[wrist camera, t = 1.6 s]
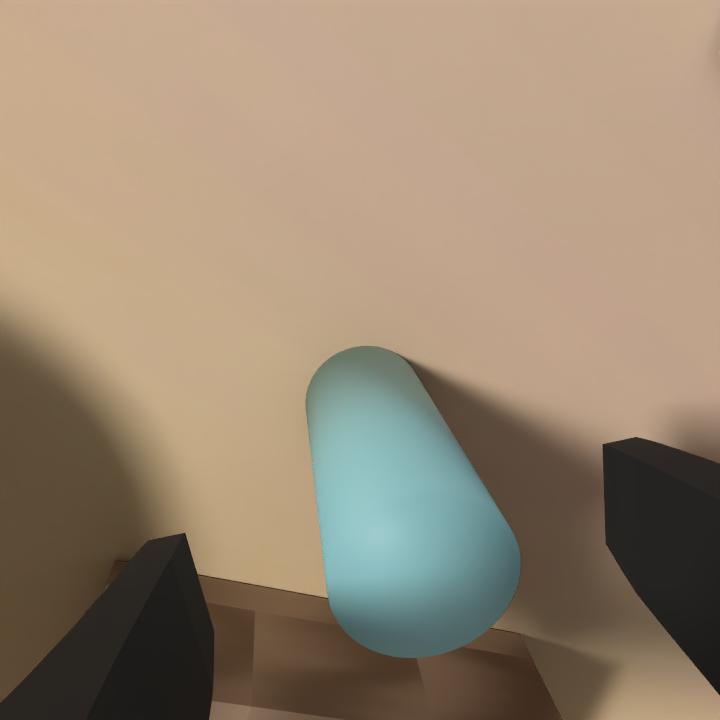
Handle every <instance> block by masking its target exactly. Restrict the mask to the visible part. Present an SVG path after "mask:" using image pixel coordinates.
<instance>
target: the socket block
mask: <svg viewBox="0 0 720 720" xmlns="http://www.w3.org/2000/svg"><path fill="white" fill-rule="evenodd" d="M128 563H129V562H123V561H118V560H115V562H114V565H113V568H112V570H111V573H110V576H109V578H108V581H107V583H106V586H105V589H104V591H105V590H106V589H107V588H108V586H109V585H110V584H111V583H112V582H113V580H114V579H115V578H116V577H117V576H118V575H119V573H120V572H121V571H122V570H123V569H124V567H125V566H126V565H127V564H128ZM198 578H199V581H200V585H201V588H202V591H203V595H204V598H205V601H206V605H207V608H208V611H209V615H210V618H211V621H212V625H213V628H214V680H213V696H212V703H211V710H210V717H209V720H562V718H561V716H560V714H559V712H558V710H557V708H556V706H555V704H554V702H553V700H552V698H551V696H550V694H549V692H548V690H547V688H546V686H545V684H544V682H543V680H542V678H541V676H540V674H539V672H538V670H537V668H536V666H535V664H534V662H533V660H532V658H531V656H530V654H529V652H528V650H527V648H526V646H525V644H524V642H523V640H522V638H521V636H520V634H517V633H511V632H506V631H500V630H495V629H488V630H487V631H486V632H485V633H483V634H482V635H480V636H479V637H478V638H476V639H475V640H473V641H471V642H469V643H468V644H466V645H464V646H462V647H460V648H457V649H455V650H452V651H449V652H446V653H443V654H439V655H435V656H430V657H421V658H402V657H393V656H389V655H384V654H381V653H378V652H375V651H373V650H370V649H368V648H366V647H364V646H363V645H361V644H359V643H358V642H357V641H355V640H354V639H352V638H351V637H350V636H349V635H348V634H347V633H346V632H345V631H344V630H343V628H342V627H341V626H340V625H339V623H338V622H337V620H336V618H335V616H334V615H333V612H332V609H331V607H330V604H329V599H325V598H320V597H315V596H309V595H304V594H298V593H293V592H287V591H282V590H276V589H271V588H265V587H260V586H254V585H249V584H243V583H238V582H233V581H227V580H222V579H216V578H211V577H205V576H200V575H198ZM104 591H103V592H104Z"/></svg>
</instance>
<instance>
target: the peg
mask: <svg viewBox="0 0 720 720" xmlns="http://www.w3.org/2000/svg"><path fill="white" fill-rule="evenodd" d="M306 415H307V423H308V432H309V440H310V449H311V457H312V466H313V474H314V483H315V491H316V500H317V509H318V517H319V526H320V534H321V543H322V551H323V560H324V568H325V577H326V585H327V594H328V599H329V604H330V607H331V609H332V612H333V615H334V616H335V618H336V620H337V622H338V623H339V625H340V626H341V627H342V628H343V630H344V631H345V632H346V633H347V634H348V635H349V636H350V637H351V638H352V639H354V640H355V641H357V642H358V643H359V644H361V645H363V646H364V647H366V648H368V649H370V650H373V651H375V652H378V653H381V654H384V655H389V656H393V657H402V658H421V657H430V656H435V655H439V654H443V653H446V652H449V651H452V650H455V649H457V648H460V647H462V646H464V645H466V644H468V643H469V642H471V641H473V640H475V639H476V638H478V637H479V636H480V635H482V634H483V633H485V632H486V631H487V630H488V629H489V628H490V627H491V626H493V625H494V624H495V623H496V621H497V620H498V619H499V618H500V617H501V616H502V615H503V613H504V612H505V610H506V609H507V608H508V606H509V604H510V602H511V601H512V599H513V597H514V594H515V592H516V589H517V587H518V583H519V579H520V572H521V555H520V550H519V546H518V542H517V540H516V538H515V535H514V533H513V531H512V530H511V528H510V526H509V525H508V523H507V522H506V520H505V518H504V517H503V515H502V513H501V512H500V510H499V508H498V507H497V505H496V504H495V502H494V500H493V499H492V497H491V495H490V494H489V492H488V491H487V489H486V487H485V486H484V484H483V482H482V481H481V479H480V478H479V476H478V474H477V473H476V471H475V469H474V468H473V466H472V464H471V463H470V461H469V460H468V458H467V456H466V455H465V453H464V451H463V450H462V448H461V447H460V445H459V443H458V442H457V440H456V438H455V437H454V435H453V433H452V432H451V430H450V429H449V427H448V425H447V424H446V422H445V420H444V419H443V417H442V416H441V414H440V412H439V411H438V409H437V407H436V406H435V404H434V403H433V401H432V399H431V398H430V396H429V394H428V393H427V391H426V389H425V388H424V386H423V385H422V383H421V381H420V380H419V378H418V376H417V375H416V373H415V372H414V370H413V368H412V367H411V366H410V365H409V364H408V363H407V362H406V361H405V360H404V359H403V358H402V357H400V356H399V355H397V354H396V353H394V352H392V351H389V350H386V349H384V348H379V347H372V346H360V347H354V348H350V349H347V350H344V351H342V352H339V353H337V354H336V355H334V356H332V357H331V358H329V359H328V360H327V361H326V362H324V363H323V364H322V365H321V367H320V368H319V369H318V370H317V371H316V373H315V374H314V376H313V378H312V379H311V381H310V384H309V386H308V390H307V394H306Z"/></svg>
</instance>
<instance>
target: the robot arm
mask: <svg viewBox="0 0 720 720" xmlns="http://www.w3.org/2000/svg"><path fill="white" fill-rule="evenodd" d="M603 471H604V502H605V532H606V545H607V546H608V548H609V550H610V551H611V553H612V555H613V556H614V558H615V560H616V561H617V563H618V565H619V566H620V568H621V570H622V571H623V573H624V575H625V576H626V578H627V579H628V581H629V582H630V584H631V585H632V587H633V589H634V590H635V592H636V593H637V594H638V596H639V597H640V598H641V600H642V601H643V602H644V603H645V605H646V606H647V607H648V608H649V610H650V611H651V612H652V613H653V615H654V616H655V617H656V618H657V619H658V621H659V622H660V623H661V624H662V626H663V627H664V628H665V629H666V631H667V632H668V633H669V634H670V635H671V637H672V638H673V639H674V640H675V642H676V643H677V644H678V645H679V646H680V648H681V649H682V650H683V651H684V652H685V654H686V655H687V656H688V657H689V658H690V660H691V661H692V662H693V663H694V665H695V666H696V667H697V668H698V669H699V671H700V672H701V673H702V674H703V675H704V677H705V678H706V679H707V680H708V681H709V683H710V684H711V685H712V686H713V688H714V689H715V690H716V691H717V692H718V694H719V695H720V464H719V463H716V462H713V461H710V460H708V459H705V458H702V457H699V456H696V455H693V454H690V453H687V452H684V451H681V450H679V449H675V448H672V447H669V446H666V445H663V444H660V443H657V442H653V441H650V440H646V439H642V438H638V437H635V438H630V439H625V440H621V441H616V442H611V443H606V444H603ZM213 680H214V628H213V625H212V621H211V618H210V615H209V611H208V608H207V605H206V601H205V598H204V595H203V591H202V588H201V585H200V581H199V578H198V575H197V571H196V568H195V565H194V561H193V558H192V555H191V551H190V548H189V545H188V541H187V538H186V534H185V533H182V534H177V535H173V536H168V537H163V538H158V539H154V540H149V541H147V542H146V543H145V544H144V545H143V547H142V548H141V549H140V550H139V551H138V552H137V553H136V554H135V556H134V557H133V558H132V559H131V560H130V561H129V563H128V564H127V565H126V566H125V567H124V569H123V570H122V571H121V572H120V573H119V575H118V576H117V577H116V578H115V579H114V580H113V582H112V583H111V584H110V585H109V586H108V588H107V589H106V590H105V591H104V592H103V593H102V595H101V596H100V597H99V598H98V599H97V600H96V602H95V603H94V604H93V605H92V606H91V607H90V609H89V610H88V611H87V612H86V613H85V614H84V616H83V617H82V618H81V619H80V620H79V621H78V623H77V624H76V625H75V626H74V627H73V628H72V629H71V630H70V631H69V632H68V634H67V635H66V636H65V637H64V638H63V639H62V640H61V641H60V642H59V643H58V644H57V645H56V646H55V647H54V648H53V649H52V651H51V652H50V653H49V654H48V655H47V656H46V657H45V658H44V659H43V660H42V661H41V662H40V663H39V664H38V665H37V667H36V668H35V669H34V670H33V671H32V672H31V673H30V674H29V675H28V676H27V677H26V678H25V679H24V680H23V681H22V682H21V683H20V684H19V685H18V686H17V687H16V688H15V689H14V690H13V691H12V692H11V693H10V694H9V695H8V696H7V697H6V698H5V699H4V700H3V701H2V702H1V703H0V720H209V717H210V710H211V703H212V696H213Z"/></svg>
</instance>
